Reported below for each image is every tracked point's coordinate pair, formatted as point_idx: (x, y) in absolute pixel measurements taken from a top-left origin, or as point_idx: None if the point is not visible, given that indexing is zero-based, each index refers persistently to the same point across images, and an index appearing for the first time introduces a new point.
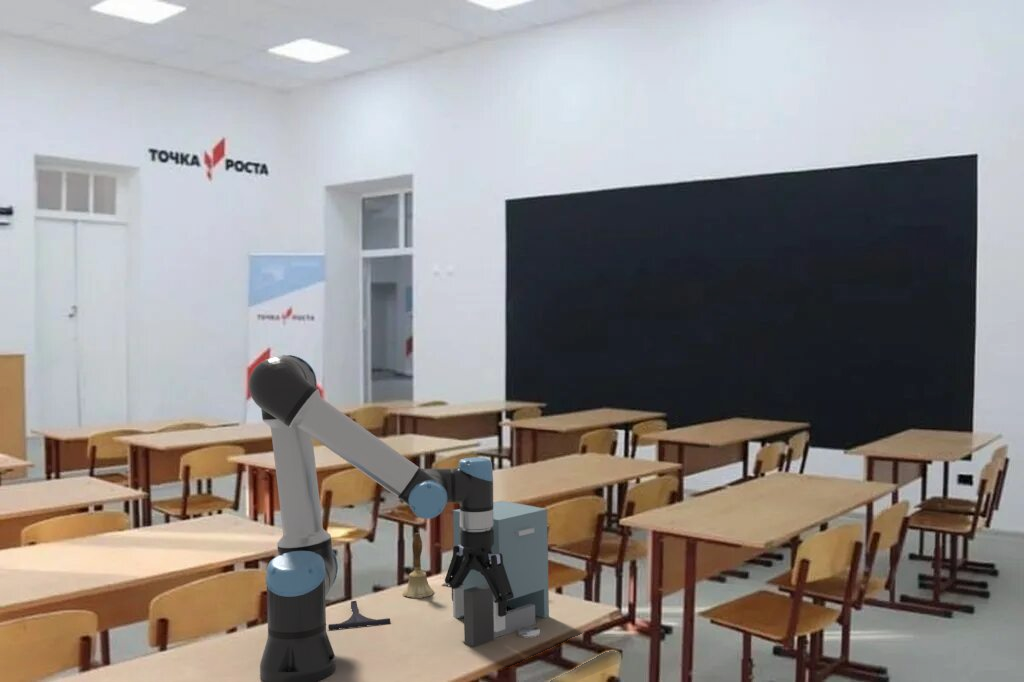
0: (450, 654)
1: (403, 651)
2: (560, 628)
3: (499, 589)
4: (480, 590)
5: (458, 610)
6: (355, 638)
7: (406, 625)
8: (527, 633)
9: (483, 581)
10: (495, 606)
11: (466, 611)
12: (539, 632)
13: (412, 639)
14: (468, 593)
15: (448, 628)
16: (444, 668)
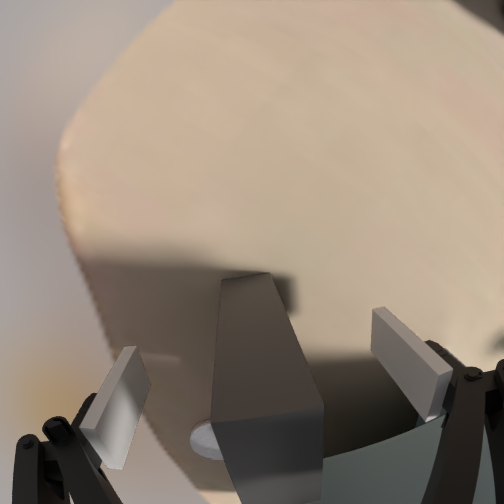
0: (212, 177)
1: (339, 75)
2: (209, 480)
3: (34, 477)
4: (228, 468)
5: (383, 336)
6: (477, 68)
7: (488, 216)
8: (199, 432)
9: (394, 488)
10: (89, 412)
11: (271, 331)
12: (196, 451)
13: (411, 159)
14: (262, 406)
15: (411, 300)
16: (121, 103)
